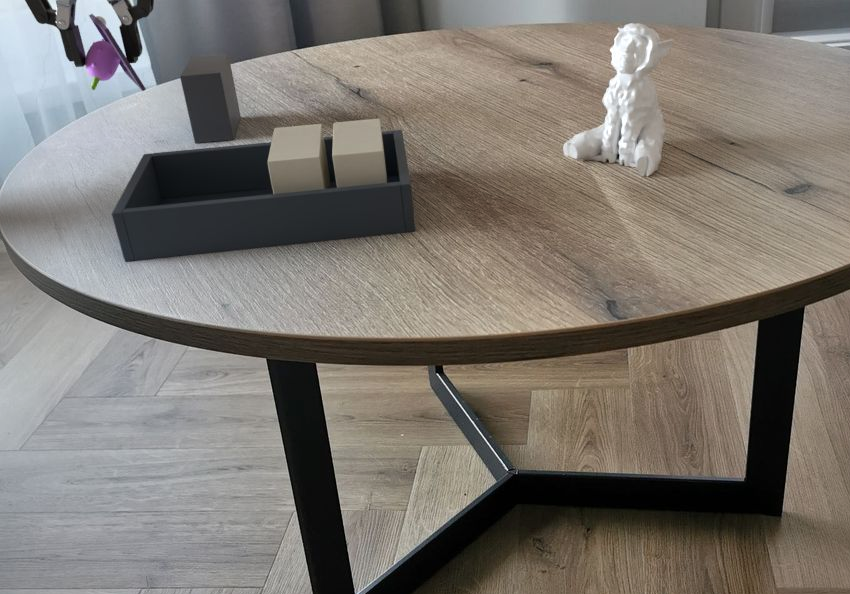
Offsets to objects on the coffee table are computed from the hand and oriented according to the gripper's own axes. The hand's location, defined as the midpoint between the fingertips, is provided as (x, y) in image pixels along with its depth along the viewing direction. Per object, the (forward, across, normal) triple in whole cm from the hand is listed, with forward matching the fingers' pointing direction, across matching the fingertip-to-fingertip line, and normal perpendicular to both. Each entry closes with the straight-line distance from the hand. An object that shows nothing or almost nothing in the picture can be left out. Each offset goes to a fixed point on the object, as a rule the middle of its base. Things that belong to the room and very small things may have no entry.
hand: (107, 62), depth 98 cm
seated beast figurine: (+8, +49, -19) cm, 54 cm away
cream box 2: (+8, +25, -26) cm, 37 cm away
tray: (+8, +17, -26) cm, 32 cm away
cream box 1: (+8, +20, -26) cm, 34 cm away
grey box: (+8, +10, +1) cm, 13 cm away
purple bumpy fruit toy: (+3, 0, 0) cm, 3 cm away
